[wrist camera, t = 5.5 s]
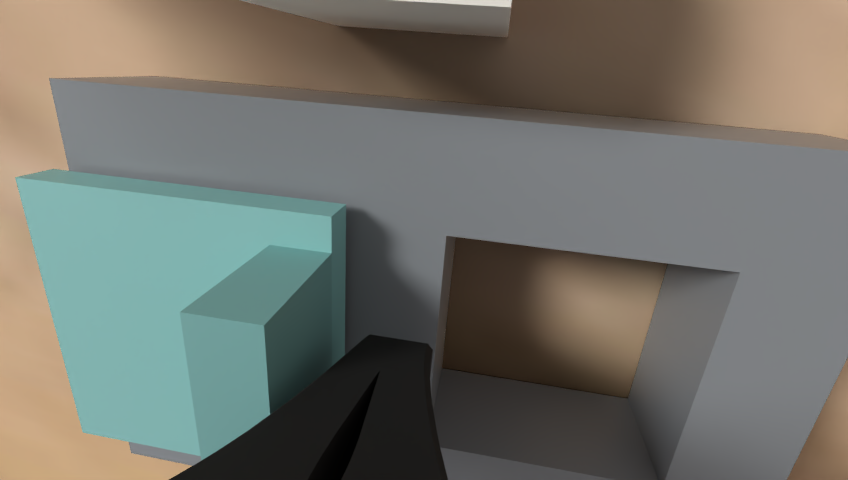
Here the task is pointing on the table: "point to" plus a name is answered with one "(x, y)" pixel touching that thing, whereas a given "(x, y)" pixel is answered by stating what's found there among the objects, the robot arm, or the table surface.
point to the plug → (405, 14)
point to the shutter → (186, 302)
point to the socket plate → (546, 228)
